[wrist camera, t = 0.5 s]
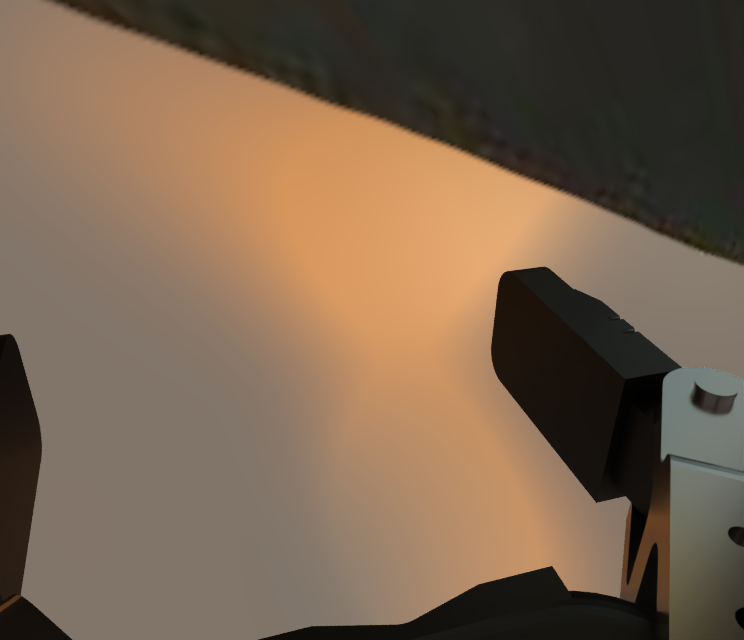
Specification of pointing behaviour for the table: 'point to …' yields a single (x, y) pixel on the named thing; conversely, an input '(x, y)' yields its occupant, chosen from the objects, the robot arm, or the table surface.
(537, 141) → the table surface
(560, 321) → the robot arm
